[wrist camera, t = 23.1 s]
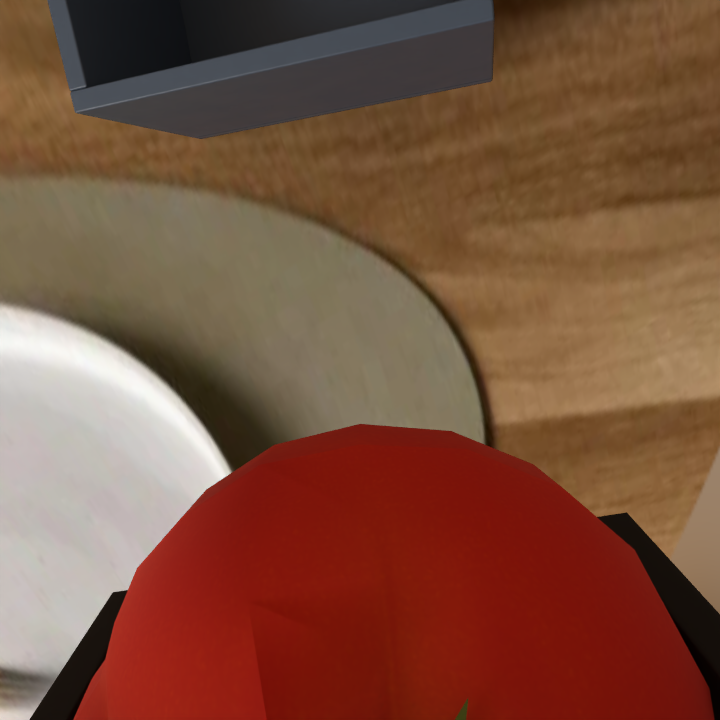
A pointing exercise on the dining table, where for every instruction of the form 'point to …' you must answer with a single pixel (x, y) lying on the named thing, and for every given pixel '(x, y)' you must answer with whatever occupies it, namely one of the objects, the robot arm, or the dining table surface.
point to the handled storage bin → (263, 57)
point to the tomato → (393, 597)
